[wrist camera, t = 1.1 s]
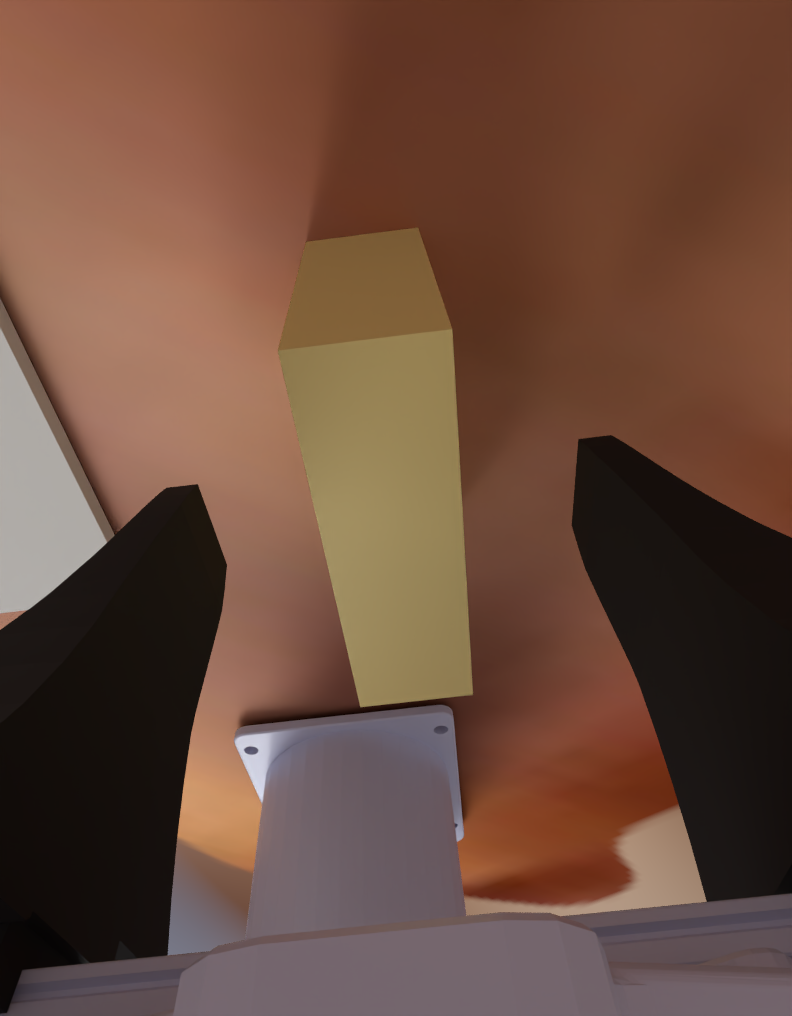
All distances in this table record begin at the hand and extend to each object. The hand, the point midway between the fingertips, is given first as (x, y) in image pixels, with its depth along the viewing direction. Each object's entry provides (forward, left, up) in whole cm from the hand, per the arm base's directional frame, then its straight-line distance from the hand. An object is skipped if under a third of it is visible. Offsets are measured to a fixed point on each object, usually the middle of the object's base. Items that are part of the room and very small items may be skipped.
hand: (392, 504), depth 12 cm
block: (0, 0, -5) cm, 5 cm away
